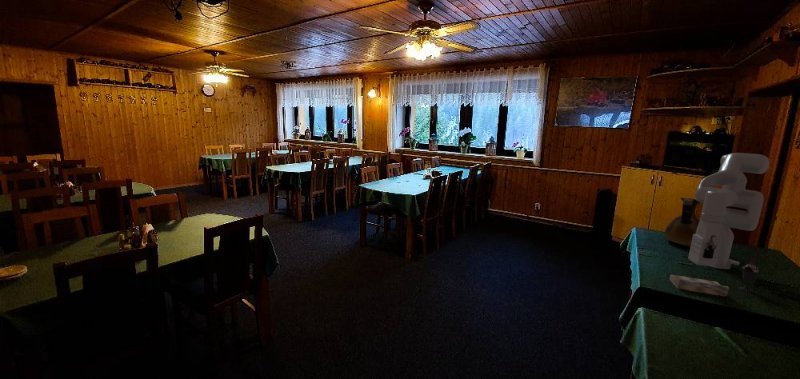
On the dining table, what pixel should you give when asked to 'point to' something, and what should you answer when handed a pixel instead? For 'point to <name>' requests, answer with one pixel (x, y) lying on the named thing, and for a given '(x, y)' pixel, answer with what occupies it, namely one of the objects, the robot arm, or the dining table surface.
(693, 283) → the display board
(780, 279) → the dining table surface
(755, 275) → the sundae
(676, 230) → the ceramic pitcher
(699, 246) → the supplement box
